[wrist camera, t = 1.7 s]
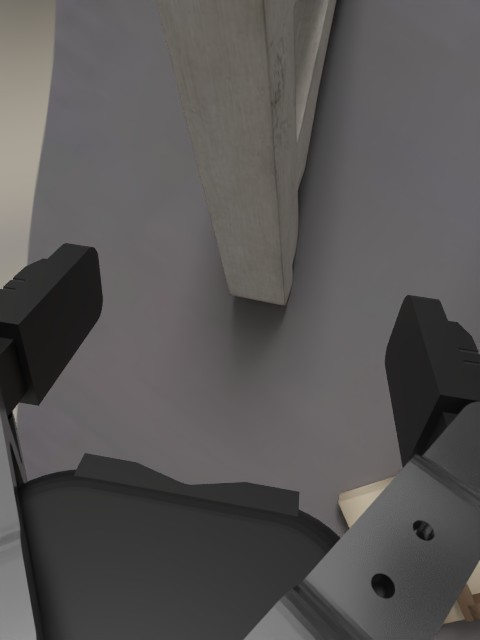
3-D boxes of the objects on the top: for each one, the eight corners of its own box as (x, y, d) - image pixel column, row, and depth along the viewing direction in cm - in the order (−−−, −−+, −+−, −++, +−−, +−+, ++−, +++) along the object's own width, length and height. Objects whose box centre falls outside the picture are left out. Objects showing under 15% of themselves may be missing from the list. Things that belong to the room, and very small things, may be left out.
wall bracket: (359, 71, 48) (285, 305, 34) (317, 69, 49) (230, 295, 35) (393, -271, 29) (259, -61, 15) (324, -262, 30) (141, -59, 16)
